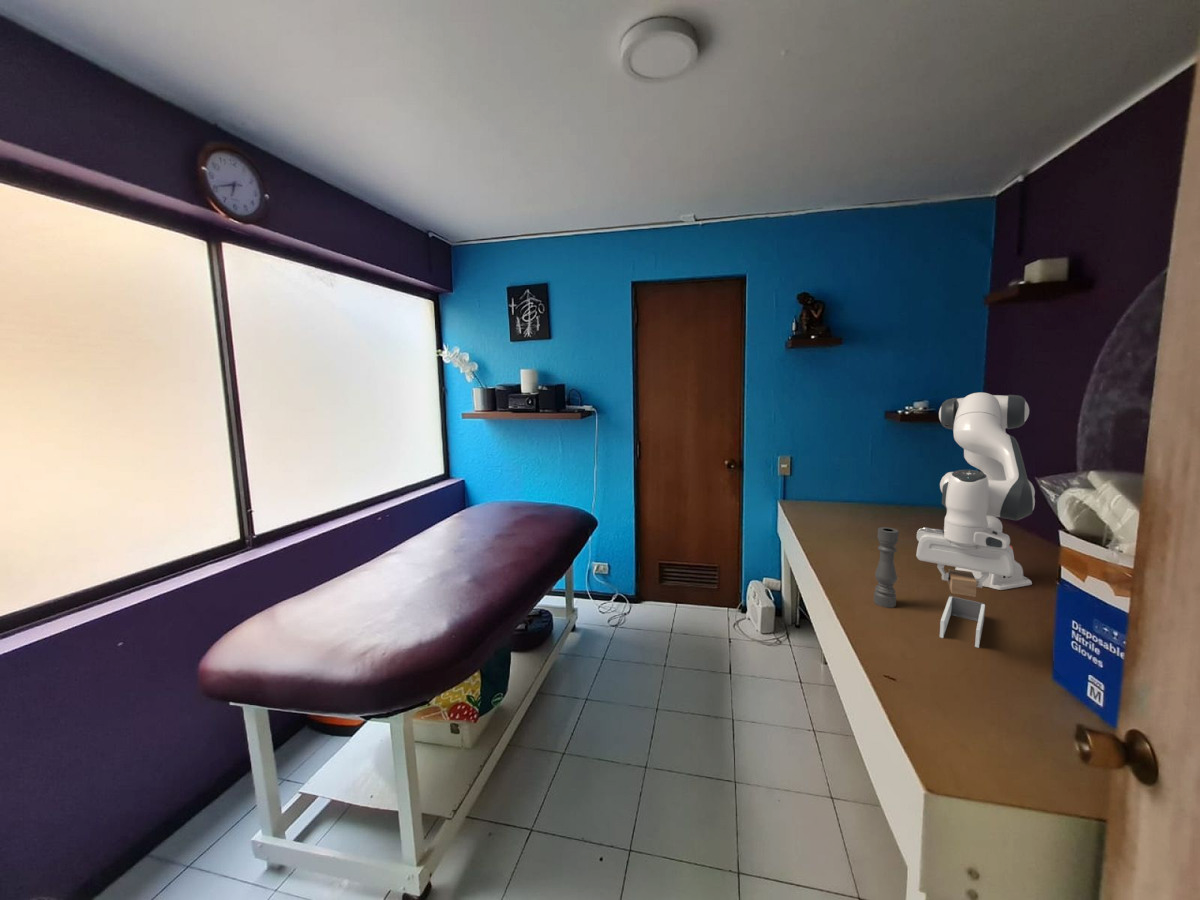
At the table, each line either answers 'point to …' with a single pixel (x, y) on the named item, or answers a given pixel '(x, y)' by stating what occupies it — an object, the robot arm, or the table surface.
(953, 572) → the light brown block
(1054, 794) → the table surface
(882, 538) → the candle holder
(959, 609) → the white channel
